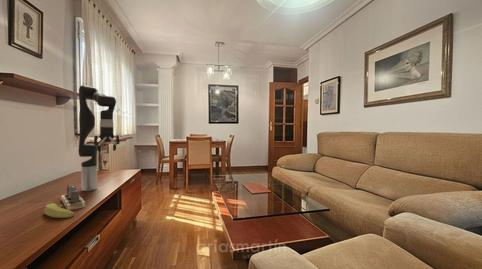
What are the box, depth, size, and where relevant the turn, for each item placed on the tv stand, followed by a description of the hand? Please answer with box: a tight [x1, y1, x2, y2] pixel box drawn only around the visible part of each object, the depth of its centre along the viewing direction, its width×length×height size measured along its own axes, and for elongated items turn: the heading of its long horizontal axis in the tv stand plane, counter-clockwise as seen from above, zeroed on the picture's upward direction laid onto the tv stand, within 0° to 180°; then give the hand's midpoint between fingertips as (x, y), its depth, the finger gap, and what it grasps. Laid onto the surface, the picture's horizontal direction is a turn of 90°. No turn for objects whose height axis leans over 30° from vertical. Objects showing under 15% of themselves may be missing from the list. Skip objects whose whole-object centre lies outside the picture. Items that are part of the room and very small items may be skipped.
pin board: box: [61, 184, 86, 211], centre depth 131 cm, size 23×8×9 cm, turn 46°
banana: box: [44, 202, 75, 219], centre depth 117 cm, size 14×6×20 cm
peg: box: [69, 185, 77, 200], centre depth 131 cm, size 4×4×10 cm
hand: (107, 151), depth 143 cm, fingers open, 8 cm apart
